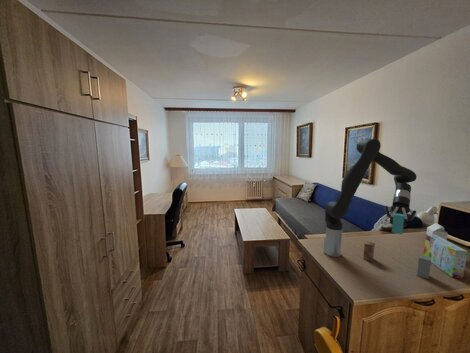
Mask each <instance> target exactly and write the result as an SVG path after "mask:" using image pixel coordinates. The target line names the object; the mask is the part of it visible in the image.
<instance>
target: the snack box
mask: <svg viewBox="0 0 470 353" xmlns="http://www.w3.org/2000/svg"><path fill="white" fill-rule="evenodd" d="M424 242H425V243H424V249H423V256H427V257H431V264H432V265H434V266H435V267H437V268H438V269H440V270H441V271H443V272H444V273H445V274H446V275H448V276H450V278H455V279H464V274H465V269H466V264H467V259H468V253H469V251H467V250H466V249H464V248H462V247H460V246H458V245H456V244H454V243H452V242H450V241H449V240H448V239H447V240H445V239H443V238H441V237H439V236H437V235H431V234H425V241H424Z"/></svg>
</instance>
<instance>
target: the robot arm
mask: <svg viewBox="0 0 470 353" xmlns="http://www.w3.org/2000/svg"><path fill="white" fill-rule="evenodd" d="M381 146H382V145H381V142H380V140H379V139H377V138H365V139H361V140H360V141H358V142H357V144H356V151H357V152H358V153H359V154H361V155H360V157H359V158H358V160H357V161H356V162H355V163H354V164H353V165H352V166H350V167H349V168H348V170H347V171H346V172H345V174H344V176H343V178H342V181H341V187H340V188H341V189H340V195H339V198H337V199H338V200H337V201H332V200H331V201H330V202H328V203H327V204H326V206H325V211H324V212H325V213H324V216H325V217H324V218H325V221H324V222H325V225H326V226H325V237H324V239H323V252H322V253H323V254H326V255H327V256H329V257H332V258H339V257H340V256H342V255H341V254H342V240H343V229H344V228H343V227H344V226H343V223H342V221H341V219H344V217H346V215H347V213H348V211H349V209H350V205H351V203H352V200H353V199H354V196H355V194H356V193H357V190H358V188H359V186H360V185H361V183H362V180H363V179H364V177H365V175H366V173H367V171H368V169H369V167H370V166H371V165H372V163H373V162H374V163H376V165H379V166H380V168H382V169H384V170H385V171H386V172H387V173H389V175H390V176H391V175H392V176H393V180H394V184H395V190H394V194H393V197H392V198H393V199H392V205H391V206H388V205H385V206H384V210H385V215H386V217H387V218H389V223H390V225H392V224H393V215H394V213H399V214H403V215H405V216H404V224H403V228H405V227H407V225H408V222H413V220H414V218H415V217H416V214H417V210H412V209H410V206H411V205H410V204H411V191H412V186H411V185H410V184H409V183H412V182H415V181H416V180H417V177H418V176H417V174H416V172H415V171H413V170H412V169H410V168H407V167H405V166H403V165H401V164H400V163H398V161H396V160H394V159H393V158H391V157H389V156H388V155H386V154H383V153H382V152H380V150H381ZM390 211H392V213H390ZM409 213H410V215H409V217H408V214H409Z"/></svg>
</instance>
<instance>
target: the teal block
mask: <svg viewBox="0 0 470 353" xmlns="http://www.w3.org/2000/svg"><path fill="white" fill-rule="evenodd" d="M404 216H405V215H403V214H399V213H394V215H393V224H391V225H392V226H391V233H394V234H398V235H403V233H404V227H403V224H404Z"/></svg>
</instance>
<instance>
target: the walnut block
mask: <svg viewBox="0 0 470 353" xmlns="http://www.w3.org/2000/svg"><path fill="white" fill-rule="evenodd" d="M375 246H376V243H375V242H372V241H368V240H365V242H364V246H363V257H362V258H363V260H365V261H368V262H373V260H374V256H375V255H374V254H375Z"/></svg>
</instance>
